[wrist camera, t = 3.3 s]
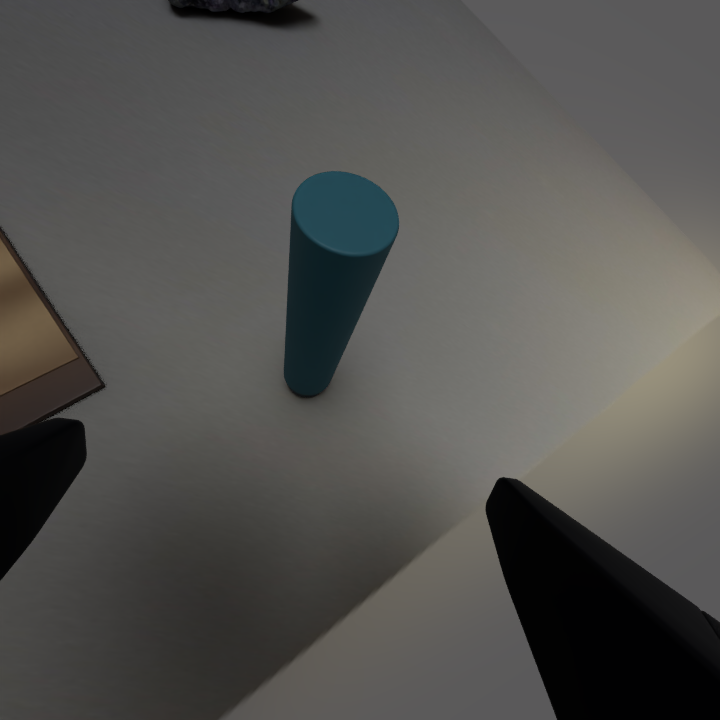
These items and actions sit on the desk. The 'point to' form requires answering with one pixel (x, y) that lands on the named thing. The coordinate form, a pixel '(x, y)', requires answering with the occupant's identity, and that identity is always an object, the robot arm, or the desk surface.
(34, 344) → the wooden board
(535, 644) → the robot arm
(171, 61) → the desk surface
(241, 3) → the mineral rock
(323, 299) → the cylinder
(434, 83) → the desk surface
